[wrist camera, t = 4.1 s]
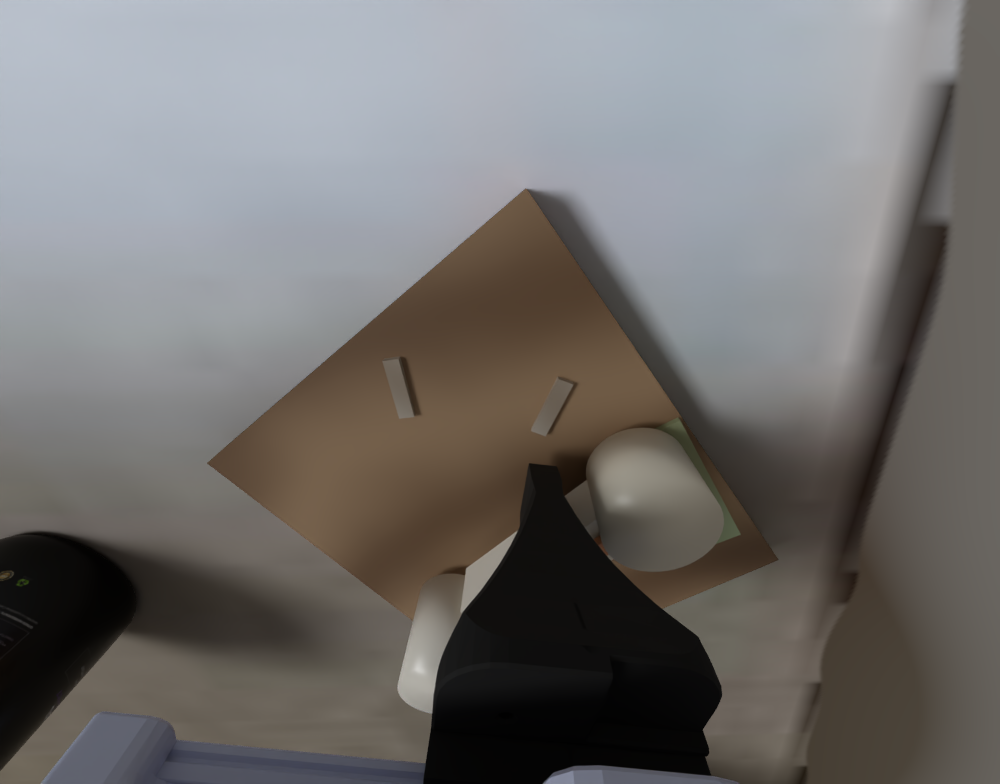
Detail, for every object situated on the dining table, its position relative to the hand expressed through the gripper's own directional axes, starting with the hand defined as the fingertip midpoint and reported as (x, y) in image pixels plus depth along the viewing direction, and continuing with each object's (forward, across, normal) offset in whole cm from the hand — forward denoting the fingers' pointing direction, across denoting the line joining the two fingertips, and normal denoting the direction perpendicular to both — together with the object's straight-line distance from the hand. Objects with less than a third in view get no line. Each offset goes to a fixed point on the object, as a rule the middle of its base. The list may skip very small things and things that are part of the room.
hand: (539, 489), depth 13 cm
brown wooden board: (+2, +1, +2) cm, 3 cm away
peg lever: (0, 0, +3) cm, 3 cm away
